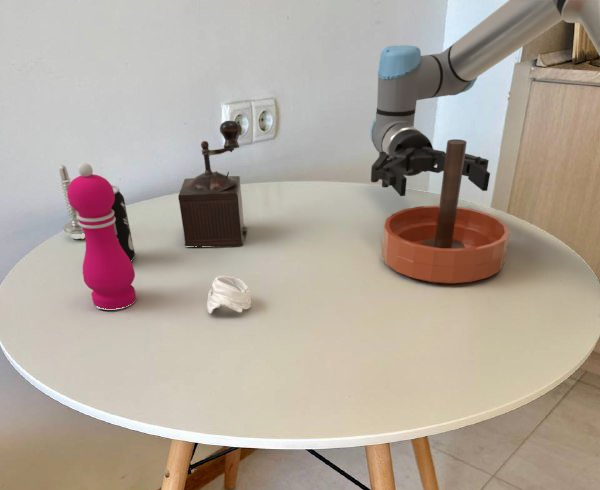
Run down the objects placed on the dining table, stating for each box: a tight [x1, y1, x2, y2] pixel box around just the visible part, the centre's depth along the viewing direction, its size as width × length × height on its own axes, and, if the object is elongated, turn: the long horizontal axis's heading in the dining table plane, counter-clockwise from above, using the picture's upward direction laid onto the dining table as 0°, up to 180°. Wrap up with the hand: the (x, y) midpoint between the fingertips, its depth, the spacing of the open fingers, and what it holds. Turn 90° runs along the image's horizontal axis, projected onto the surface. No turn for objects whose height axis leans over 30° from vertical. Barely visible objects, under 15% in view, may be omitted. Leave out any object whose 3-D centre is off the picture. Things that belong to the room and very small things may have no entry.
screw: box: [58, 164, 84, 235], centre depth 106 cm, size 13×5×5 cm
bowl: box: [381, 205, 511, 284], centre depth 97 cm, size 20×20×6 cm
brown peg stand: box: [421, 139, 468, 249], centre depth 93 cm, size 7×7×18 cm
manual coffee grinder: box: [178, 120, 248, 248], centre depth 106 cm, size 16×11×18 cm
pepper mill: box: [67, 162, 137, 309], centre depth 83 cm, size 7×7×20 cm
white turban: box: [206, 275, 252, 315], centre depth 86 cm, size 8×7×5 cm
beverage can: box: [111, 184, 136, 262], centre depth 97 cm, size 7×7×12 cm
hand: (445, 184), depth 93 cm, fingers open, 13 cm apart
